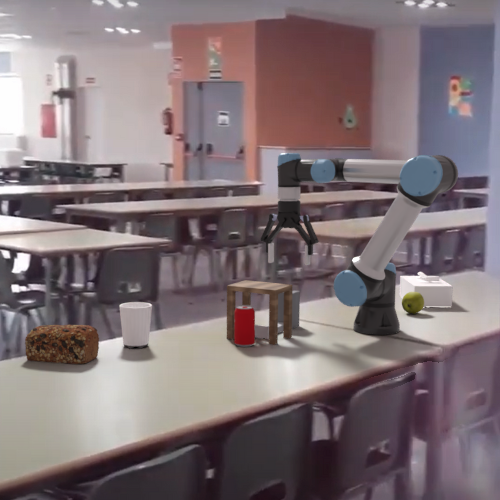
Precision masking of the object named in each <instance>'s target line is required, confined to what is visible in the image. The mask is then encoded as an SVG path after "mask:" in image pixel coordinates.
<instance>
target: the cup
mask: <svg viewBox="0 0 500 500" xmlns="http://www.w3.org/2000/svg"><path fill="white" fill-rule="evenodd" d="M118 307H119V314H120V325H121V335H122V343H123V344H122V345H123V346H124V347H127V348H129V349H133V348H135V347H137V348H138V349H143V348H144V347H148V346H149V342H150V335H151V334H150V331H151V330H150V329H151V321H152V320H151V319H152V310H153V304H151V303H150V302H143V301H131V302H124V303H121V304H119V306H118Z"/></svg>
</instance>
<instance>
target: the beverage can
mask: <svg viewBox="0 0 500 500" xmlns="http://www.w3.org/2000/svg"><path fill="white" fill-rule="evenodd" d="M255 324H256V310H255V309H254V306H253V305H251V306H250V305H242V304H240V305H235V332H234V339H233V340H234V345H236V346H237V347H242V348H243V347H244V348H249V347H252V346H253V345H255V343H256V338H255Z"/></svg>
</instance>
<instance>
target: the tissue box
mask: <svg viewBox="0 0 500 500" xmlns="http://www.w3.org/2000/svg"><path fill="white" fill-rule="evenodd" d="M453 287H454V286H453V285H452V284H450V283H448V282H447V281H445V280H443V279H442V278H441V277H440V276H438V275H427V274H425V273H424V272H423V271H419V272H417V275H400V276H399V297H400V298H401V299H402V298H403V297H404V296H405V295H406V294H407V293H409V292H418V293H420V294H421V295H422V296H423V298H424V306H423V307H426V306H452V307H453V291H454V290H453Z"/></svg>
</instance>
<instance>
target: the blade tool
mask: <svg viewBox="0 0 500 500" xmlns="http://www.w3.org/2000/svg"><path fill="white" fill-rule="evenodd" d="M300 294H301V290H293V289H292V330H293V329H296V328H298V327H300V299H301V298H300V297H301V296H300ZM283 323H284V292H283V293H280V294H278V334H279V333H282V332H283ZM263 338H265V339H264V340H269V325H262V324H256V323H255V339H263Z"/></svg>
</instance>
